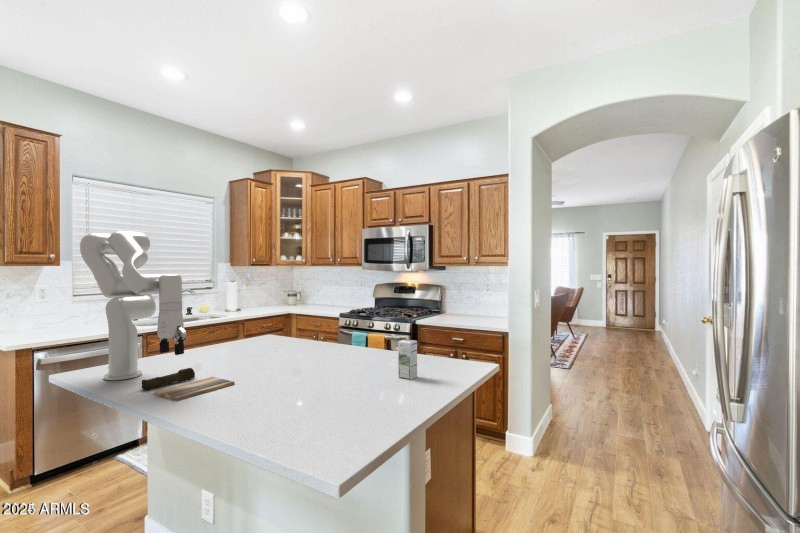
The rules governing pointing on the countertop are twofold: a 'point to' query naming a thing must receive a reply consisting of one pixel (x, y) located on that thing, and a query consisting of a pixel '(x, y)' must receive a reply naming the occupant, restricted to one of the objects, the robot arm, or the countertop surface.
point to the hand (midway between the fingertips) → (171, 353)
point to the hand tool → (169, 379)
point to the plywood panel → (193, 388)
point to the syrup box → (407, 359)
